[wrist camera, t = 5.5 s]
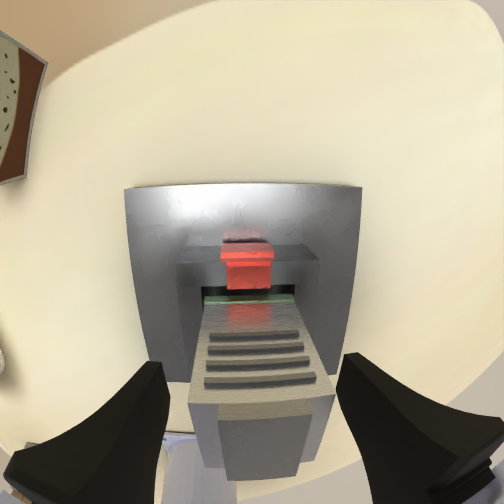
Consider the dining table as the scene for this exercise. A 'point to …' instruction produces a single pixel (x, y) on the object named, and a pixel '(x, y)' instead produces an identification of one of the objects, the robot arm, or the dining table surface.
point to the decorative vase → (1, 361)
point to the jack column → (257, 388)
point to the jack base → (241, 258)
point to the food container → (17, 105)
